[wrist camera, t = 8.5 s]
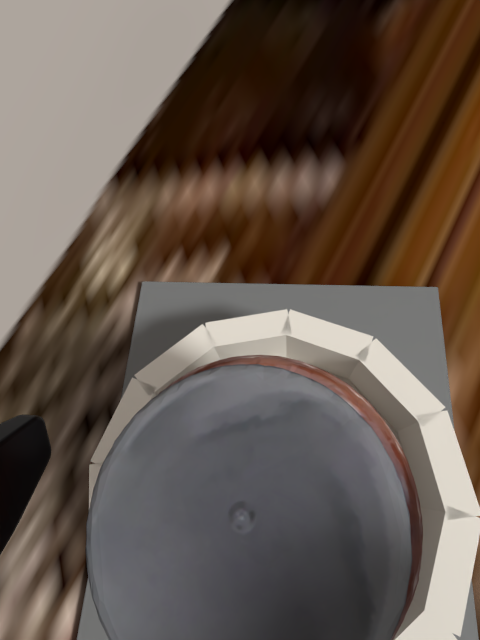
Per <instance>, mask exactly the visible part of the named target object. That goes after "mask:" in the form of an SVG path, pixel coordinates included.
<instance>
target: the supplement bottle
mask: <svg viewBox="0 0 480 640" xmlns="http://www.w3.org/2000/svg"><path fill="white" fill-rule="evenodd" d="M422 542H423V524H422V514H421V508H420V501H419V496H418V492H417V488H416V484H415V481H414V477H413V474H412V472H411V469H410V466H409V463H408V460H407V458H406V456H405V454H404V452H403V449H402V448H401V446H400V444H399V442H398V441H397V439H396V437H395V436H394V434H393V433H392V431H391V430H390V428H389V427H388V425H387V424H386V422H385V421H384V420H383V418H382V417H381V416H380V415H379V414H378V412H377V411H376V410H375V409H374V407H373V406H372V405H371V404H370V403H369V402H368V401H367V400H366V399H365V398H364V397H362V396H361V395H360V394H359V393H358V392H357V391H355V390H354V389H353V388H352V387H351V386H350V385H348V384H347V383H345V382H344V381H342V380H340V379H339V378H337V377H336V376H334V375H332V374H330V373H328V372H326V371H324V370H322V369H320V368H318V367H315V366H313V365H310V364H308V363H305V362H303V361H299V360H294V359H290V358H286V357H281V356H271V355H247V356H236V357H230V358H226V359H222V360H218V361H215V362H212V363H209V364H206V365H204V366H201V367H198V368H196V369H195V370H193V371H190V372H188V373H187V374H185V375H184V376H181V377H180V378H179V379H178V380H176V381H174V382H172V383H171V384H170V385H169V386H168V387H166V388H165V389H164V390H163V391H161V392H160V393H159V394H158V395H157V396H156V397H154V398H153V399H151V400H150V401H149V402H148V403H147V404H146V405H145V406H144V407H143V408H142V409H140V410H139V411H138V412H137V413H136V414H135V415H134V416H133V418H132V419H131V420H130V422H129V423H128V424H127V425H126V426H125V427H124V429H123V430H122V432H121V433H120V435H119V436H118V437H117V439H116V440H115V441H114V444H113V446H112V448H111V450H110V451H109V453H108V454H107V456H106V458H105V460H104V462H103V464H102V466H101V468H100V471H99V474H98V477H97V480H96V483H95V486H94V489H93V493H92V498H91V503H90V508H89V513H88V519H87V539H86V560H87V572H88V578H89V583H90V589H91V595H92V598H93V601H94V604H95V607H96V610H97V614H98V617H99V620H100V622H101V624H102V626H103V628H104V630H105V633H106V635H107V637H108V639H109V640H393V639H394V637H395V635H396V633H397V632H398V630H399V628H400V626H401V624H402V622H403V620H404V618H405V615H406V613H407V611H408V609H409V607H410V604H411V602H412V600H413V597H414V593H415V590H416V587H417V584H418V581H419V573H420V569H421V559H422Z"/></svg>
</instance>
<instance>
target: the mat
mask: <svg viewBox="0 0 480 640" xmlns="http://www.w3.org/2000/svg"><path fill="white" fill-rule="evenodd" d="M285 309H287V311H288V314H289V311H290V309H291V310H294V311H297V312H300V313H303V314H306V315H309V316H312V317H315V318H318V319H321V320H324V321H327V322H330V323H334V324H337V325H340V326H343V327H346V328H349V329H352V330H355V331H358V332H361V333H364V334H367V335H370V336H373V339H372V341H373V340H375V339H377V340H378V341H379V342H381V343H382V344H383V345H384V346H385V347H386V348H387V349H388V350H389V351H390V352H391V353H392V354H393V355H394V356H395V357H396V358H397V359H398V360H399V361H400V362H401V363H402V364H403V365H404V366H405V367H406V368H407V369H408V370H409V371H410V372H411V373H412V374H413V375H414V376H415V377H416V378H417V379H418V380H419V381H420V382H421V383H422V384H423V385H424V386H425V387H426V388H427V389H428V390H429V391H430V392H431V393H432V394H433V395H434V396H435V397H436V398H437V399H438V400H439V401H440V402H441V403H442V404H443V405H444V406H445V408H444V409H443V410H442V411H448V414H449V417H450V420H451V423H452V426H453V429H454V424H453V415H452V406H451V398H450V389H449V381H448V372H447V363H446V355H445V346H444V337H443V329H442V320H441V312H440V303H439V294H438V287H398V286H346V285H293V284H241V283H188V282H142V286H141V292H140V297H139V303H138V308H137V314H136V319H135V325H134V330H133V335H132V341H131V346H130V352H129V357H128V363H127V368H126V374H125V379H124V385H123V390H122V395H121V399H122V397H123V395H124V393H125V391H126V389H127V387H128V385H129V383H130V381H131V379H132V378H135V379H137V378H136V377H135V374H136V373H138V372H139V371H140V370H142V369H143V368H144V367H146V366H147V365H148V364H150V363H151V362H152V361H154V360H155V359H156V358H158V357H159V356H160V355H162V354H163V353H164V352H166V351H167V350H168V349H170V348H171V347H172V346H174V345H175V344H176V343H178V342H179V341H180V340H182V339H183V338H184V337H186V336H187V335H188V334H190V333H191V332H192V331H194V330H195V329H196V328H198V327H199V326H200V325H202V324H203V325H204V326H205V327H206V324H205V323H207V322H213V321H219V320H225V319H231V318H237V317H243V316H249V315H255V314H261V313H267V312H273V311H279V310H285ZM452 634H453V633H452ZM453 635H454V636H455V637H456V639H457V640H479V639H478V631H477V622H476V613H475V605H474V596H473V587H472V579H471V583H470V589H469V594H468V599H467V605H466V610H465V615H464V621H463V626H462V631H461V637H459V636H457V635H455V634H453ZM77 640H109V639H108V637H107V635H106V633H105V630H104V628H103V626H102V624H101V622H100V620H99V617H98V614H97V610H96V607H95V604H94V601H93V598H92V595H91V589H90V583H89V578H88V581H87V586H86V592H85V597H84V603H83V608H82V614H81V619H80V625H79V630H78V635H77Z"/></svg>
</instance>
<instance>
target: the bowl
mask: <svg viewBox="0 0 480 640" xmlns="http://www.w3.org/2000/svg"><path fill="white" fill-rule="evenodd" d="M205 324H206V327H205V326H204V325H203V324H202V325H200V326H199V327H198V328H196V329H195V330H194V331H192V332H191V333H190V334H188V335H187V336H186V337H184V338H183V339H182V340H180V341H179V342H178V343H176V344H175V345H174V346H172V347H171V348H170V349H168V350H167V351H166V352H164V353H163V354H162V355H160V356H159V357H158V358H156V359H155V360H154V361H152V362H151V363H150V364H148V365H147V366H146V367H144V368H143V369H142V370H140V371H139V372H138V373H136V374H135V377H136V378H137V379H135V378H132V379H131V381H130V383H129V385H128V387H127V389H126V391H125V393H124V395H123V397H122V399H121V401H120V403H119V405H118V407H117V409H116V411H115V413H114V415H113V417H112V419H111V421H110V423H109V425H108V427H107V429H106V431H105V433H104V435H103V437H102V439H101V441H100V443H99V445H98V447H97V449H96V451H95V452H94V454H93V456H92V458H91V460H90V461H91V462H93V463H95V464H90V465H89V508H90V503H91V498H92V493H93V489H94V486H95V483H96V480H97V477H98V474H99V471H100V468H101V466H102V464H103V462H104V460H105V458H106V456H107V454H108V453H109V451H110V450H111V448H112V446H113V444H114V441H115V440H116V439H117V437H118V436H119V435H120V433H121V432H122V430H123V429H124V427H125V426H126V425H127V424H128V423H129V422H130V420H131V419H132V418H133V416H134V415H135V414H136V413H137V412H138V411H139V410H140V409H142V408H143V407H144V406H145V405H146V404H147V403H148V402H149V401H150V400H151V399H153V398H154V397H156V396H157V395H158V394H159V393H160V392H161V391H163V390H164V389H165V388H166V387H168V386H169V385H170V384H171V383H172V382H174V381H176V380H178V379H179V378H180V377H181V376H184V375H185V374H187V373H188V372H190V371H193V370H195V369H196V368H198V367H201V366H204V365H206V364H209V363H212V362H215V361H218V360H222V359H226V358H230V357H236V356H247V355H271V356H281V357H286V358H290V359H294V360H299V361H303V362H305V363H308V364H310V365H313V366H315V367H318V368H320V369H322V370H324V371H326V372H328V373H330V374H332V375H334V376H336V377H337V378H339V379H340V380H342V381H344V382H345V383H347V384H348V385H350V386H351V387H352V388H353V389H354V390H355V391H357V392H358V393H359V394H360V395H361V396H362V397H364V398H365V399H366V400H367V401H368V402H369V403H370V404H371V405H372V406H373V407H374V409H375V410H376V411H377V412H378V414H379V415H380V416H381V417H382V418H383V420H384V421H385V422H386V424H387V425H388V427H389V428H390V430H391V431H392V433H393V434H394V436H395V437H396V439H397V441H398V442H399V444H400V446H401V448H402V449H403V452H404V454H405V456H406V458H407V460H408V463H409V466H410V469H411V472H412V474H413V477H414V481H415V484H416V488H417V492H418V496H419V501H420V508H421V514H422V524H423V542H422V559H421V569H420V573H419V581H418V584H417V587H416V590H415V593H414V597H413V600H412V602H411V604H410V607H409V609H408V611H407V613H406V615H405V618H404V620H403V622H402V624H401V626H400V628H399V630H398V632H397V633H396V635H395V637H394V639H393V640H457V639H456V637H455V636H454V635H453V634H455V635H457V636H459V637H461V631H462V626H463V621H464V615H465V610H466V605H467V599H468V594H469V589H470V583H471V578H472V573H473V567H474V562H475V557H476V551H477V546H478V541H479V535H480V518H478V517H475V516H480V507H479V504H478V501H477V498H476V495H475V492H474V489H473V486H472V483H471V480H470V477H469V474H468V471H467V468H466V465H465V462H464V459H463V456H462V453H461V450H460V447H459V444H458V441H457V438H456V435H455V432H454V429H453V426H452V423H451V420H450V417H449V414H448V411H442V410H443V409H444V408H445V406H444V405H443V404H442V403H441V402H440V401H439V400H438V399H437V398H436V397H435V396H434V395H433V394H432V393H431V392H430V391H429V390H428V389H427V388H426V387H425V386H424V385H423V384H422V383H421V382H420V381H419V380H418V379H417V378H416V377H415V376H414V375H413V374H412V373H411V372H410V371H409V370H408V369H407V368H406V367H405V366H404V365H403V364H402V363H401V362H400V361H399V360H398V359H397V358H396V357H395V356H394V355H393V354H392V353H391V352H390V351H389V350H388V349H387V348H386V347H385V346H384V345H383V344H382V343H381V342H379V341H378V340H377V339H375V340H373V341H372V339H373V336H370V335H367V334H364V333H361V332H358V331H355V330H352V329H349V328H346V327H343V326H340V325H337V324H334V323H330V322H327V321H324V320H321V319H318V318H315V317H312V316H309V315H306V314H303V313H300V312H297V311H294V310H291V309H290V311H289V314H288V311H287V309H285V310H279V311H273V312H267V313H261V314H255V315H249V316H243V317H237V318H231V319H225V320H219V321H213V322H207V323H205ZM452 633H453V634H452Z"/></svg>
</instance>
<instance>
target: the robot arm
mask: <svg viewBox="0 0 480 640" xmlns="http://www.w3.org/2000/svg"><path fill="white" fill-rule="evenodd" d="M50 456H51V446H50V442H49V438H48V434H47V430H46V426H45V422H44V420H43V418H42V417H40V416H37V415H19V416H16V417H14V418H12V419H10V420H8V421H5V422H3V423H1V424H0V554H1V553H2V551H3V549H4V548H5V546H6V544H7V543H8V541H9V539H10V537H11V536H12V534H13V532H14V530H15V528H16V527H17V525H18V523H19V521H20V519H21V517H22V515H23V513H24V511H25V509H26V507H27V505H28V503H29V501H30V499H31V497H32V494H33V492H34V490H35V488H36V486H37V484H38V482H39V480H40V478H41V476H42V474H43V472H44V470H45V468H46V466H47V464H48V462H49V459H50Z"/></svg>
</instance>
